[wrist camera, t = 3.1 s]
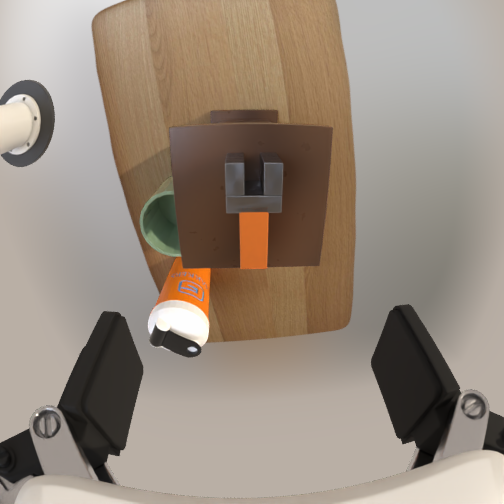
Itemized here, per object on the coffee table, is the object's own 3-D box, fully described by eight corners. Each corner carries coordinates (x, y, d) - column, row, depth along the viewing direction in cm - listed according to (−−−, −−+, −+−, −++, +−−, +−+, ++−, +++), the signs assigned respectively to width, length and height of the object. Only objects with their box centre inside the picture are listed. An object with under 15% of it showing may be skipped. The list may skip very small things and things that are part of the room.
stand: (213, 171, 46) (182, 268, 21) (211, 110, 41) (168, 127, 16) (275, 170, 47) (319, 266, 21) (276, 110, 42) (333, 127, 16)
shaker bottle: (209, 290, 58) (200, 370, 40) (165, 279, 56) (141, 356, 39) (221, 252, 54) (214, 330, 36) (173, 240, 52) (145, 313, 35)
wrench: (273, 245, 20) (278, 268, 18) (229, 246, 20) (228, 269, 18) (276, 152, 17) (283, 162, 15) (226, 153, 17) (224, 163, 14)
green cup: (160, 228, 51) (145, 257, 42) (154, 174, 46) (135, 193, 37) (216, 227, 51) (211, 256, 42) (213, 171, 46) (207, 189, 38)
